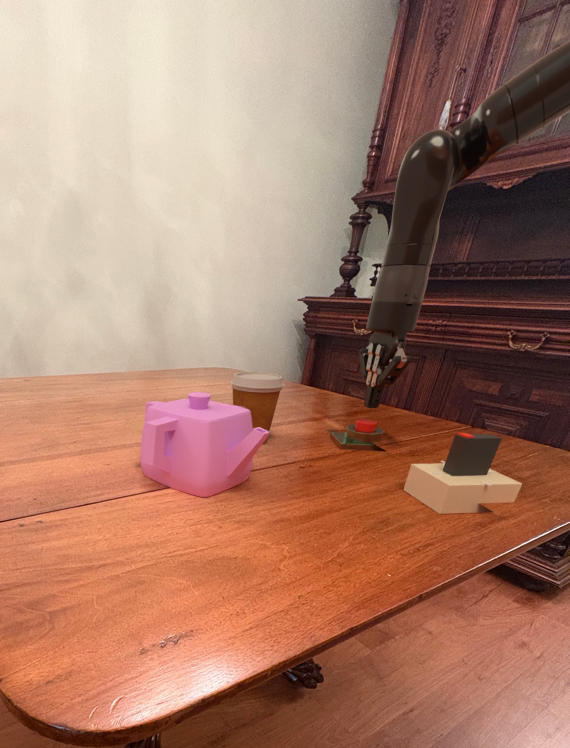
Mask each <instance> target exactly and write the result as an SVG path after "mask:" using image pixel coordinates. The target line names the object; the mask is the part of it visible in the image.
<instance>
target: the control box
mask: <svg viewBox="0 0 570 748" xmlns="http://www.w3.org/2000/svg"><path fill="white" fill-rule="evenodd" d="M445 462H446V460H440V462H439V463H411V465H410V469H409V471H408V474H407V477H406V480H405V483H404V487H403V491H404V492H406V493H407V494H409V496H412V497H413V498H414V499H416V500H417V501H418V502H420V503H422V504H424V505H425V506H426V507H428V508H430V509H431V510H432V511H434V512H435V513H437V514H439V515H447V514H480V513H485V514H486V513H494V511H493V510H491V509H490V508H488V507H486V506H484V505H482V504H501V503H502V504H503V503H507V504H508V503H509V504H510V503H515V501H516V499H517V497H518V494H519V492H520V491H521V488H522V485H523V483H522V482H519V481H518V480H515V479H513V478H511V477H509V476H506V475H505V474H502V473H500V472H498V471H496V470H493V469H491V468H489V471H488V473H487V475H463V476H452V475H450V474H448V473H446V472H444V471H443V468H444V465H445Z"/></svg>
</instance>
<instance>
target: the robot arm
mask: <svg viewBox="0 0 570 748" xmlns="http://www.w3.org/2000/svg"><path fill="white" fill-rule="evenodd" d="M569 112H570V39H569V40H567V41H565V42H564V43H562V44H560V45H559V46H557V47H555V48H554V49H553V50H551V51H549V52H548V53H546V54H544V55H543V56H542V57H540V58H539V59H537V60H536V61H534V62H533V63H532V64H531V65H529V66H528V67H526V68H524V69H523V70H521V71H520V72H519V73H517V74H516V75H515V76H513V77H512V78H510V79H509V80H508V81H506V82H505V83H504V84H502V85H501V86H499V87H497V88H496V89H495V90H494V91H493V92H491V93H490V94H489V95H488V96H487V97H486V98H485V99H484V100H482V102H481V103H480V104H479V106H478V107H477V108H476V110H475V111H474V112H473V113H472V114H471V115H470V116H469V117H467V118H466V119H464V120H463V121H461V122H460V123H459V124H458V125H456V126H455V127H453V128H452V129H451V130H449V131H448V130H445V129H440V128H439V129H438V128H437V129H432V130H429V131H427V132H425V133H423V134H421V136H419V137H417V139H416V140H415V141H414V142H413V143H412V144H411V145H410V146H409V148H408V149H407V151H406V152H405V154H404V156H403V159H402V161H401V164H400V168H399V171H398V175H397V180H396V186H395V191H394V192H395V193H394V198H393V206H392V213H391V214H392V215H391V223H390V229H389V233H388V237H387V239H386V244H385V247H384V249H385V250H384V251H383V252H384V253H383V256H382V257H383V258H382V261H381V267H380V269H379V273H378V276H377V279H376V282H375V285H374V290H373V295H372V300H371V304H370V309H369V313H368V318H367V322H366V326H365V328H366V330H367V331H368V332H372V333H371V336H370V338H369V341H368V346H366V348H360V349H359V351H358V352H359V353H358V355H359V362H360V371H361V379H362V380H364V381H366V382H365V383H366V385H367V389H366V392H365V398H364V401H363V407H365V408H367V409H378V408H379V407H380V403H381V401H382V396H383V393H384V390H385V387H387V386H393V385H394V384H395V383H396V382H397V380H398V379H399V377H400V376H401V375H402V374H403V372H404V371H405V370H406V368H407V367H408V366H409V365H410V364H411V361H412V356H411V355H406V353H405V351H404V350H405V348H406V345H407V344H406V343H407V335H408V333H412V332H414V331H415V330H416V327H417V324H418V318H419V316H420V313H421V308H422V305H423V301H424V297H425V295H426V294H425V293H426V290H427V286H428V282H429V275H430V269H431V265H432V261H433V258H434V253H435V250H436V246H437V243H438V239H439V233H440V221H441V220H440V219H441V216H442V212H443V208H444V205H445V202H446V198H447V195H448V192H449V191H451V190H452V189H454V188H455V187H457V186H458V185H460V184H461V183H462V182H463V181H465V180H467V179H468V178H470V176H471V175H473V174H475V173H476V172H477V171H478V170H480V169H481V168H482V167H484V166H485V165H486V164H488V163H489V162H490V161H492V160H493V159H494V158H496V157H497V156H499V155H501V154H503V153H505V152H507V151H508V150H510V149H512V148H514V147H515V146H516V145H518V144H520V143H522V142H523V141H525V140H526V139H528V138H530V137H531V136H532V135H534V134H536V133H537V132H539V131H541V130H542V129H544V128H546V127H548V126H550V124H552V123H555V122H556V121H557V120H558V119H560V118H562V117H563V116H565V115H567V114H568V113H569Z"/></svg>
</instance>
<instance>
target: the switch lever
mask: <svg viewBox="0 0 570 748" xmlns="http://www.w3.org/2000/svg"><path fill="white" fill-rule="evenodd" d="M502 439H503V438H502V437H501V436H497V435H494V434H493V433H467V432H457V433H456V434H454V437H453V439H452V442H451V446H450V449H449V450H448V454H447V455H446V456H447V457H446V460H445V465H444V468H443V471H444V472H446V473H448V474H450V475H452V476H463V475H487V473H488V471H489V469H491V466H492V464H493V461H494V459H495V456H496V454H497V452H498V449H499V447H500V444H501V442H502Z"/></svg>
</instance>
